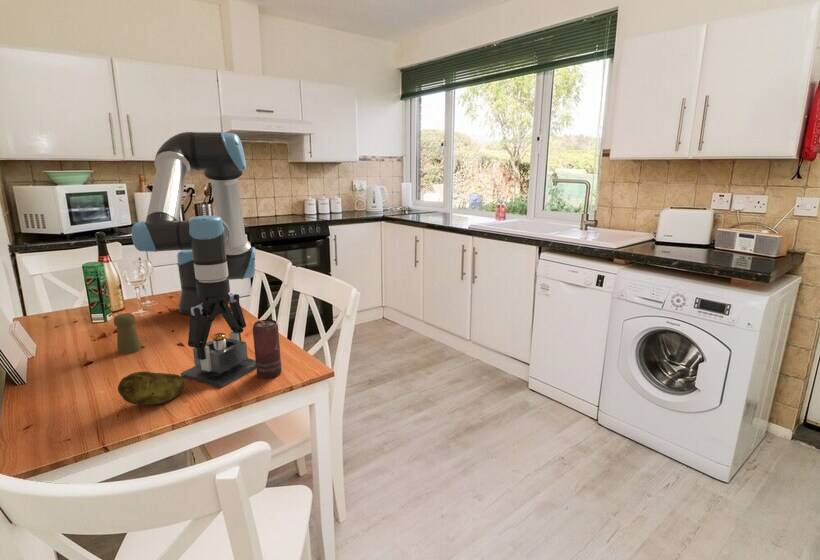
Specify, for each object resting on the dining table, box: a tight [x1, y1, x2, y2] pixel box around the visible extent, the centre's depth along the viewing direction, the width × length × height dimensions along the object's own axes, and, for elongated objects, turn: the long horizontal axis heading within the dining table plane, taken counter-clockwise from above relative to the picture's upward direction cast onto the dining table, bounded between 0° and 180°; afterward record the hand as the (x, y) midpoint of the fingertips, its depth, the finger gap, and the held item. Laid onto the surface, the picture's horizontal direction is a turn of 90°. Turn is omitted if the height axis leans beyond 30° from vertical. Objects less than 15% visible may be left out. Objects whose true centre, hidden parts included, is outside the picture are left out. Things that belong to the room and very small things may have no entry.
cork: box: [113, 312, 143, 355], centre depth 127 cm, size 6×6×11 cm
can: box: [252, 319, 282, 379], centre depth 113 cm, size 6×6×14 cm
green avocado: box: [117, 371, 185, 405], centre depth 100 cm, size 8×13×8 cm, turn 122°
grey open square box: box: [192, 337, 249, 374], centre depth 115 cm, size 9×9×5 cm
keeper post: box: [180, 332, 256, 389], centre depth 115 cm, size 14×14×10 cm
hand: (222, 362), depth 115 cm, fingers closed on grey open square box, 9 cm apart
